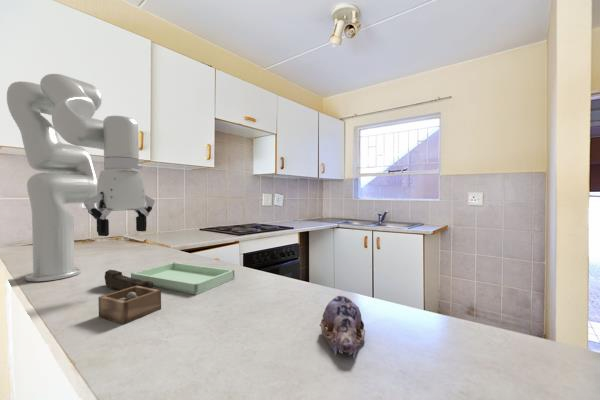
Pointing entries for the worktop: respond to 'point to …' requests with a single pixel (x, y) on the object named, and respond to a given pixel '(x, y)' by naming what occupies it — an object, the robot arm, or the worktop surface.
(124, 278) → the dark brown tapered bar
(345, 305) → the skull
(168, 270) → the tray
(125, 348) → the worktop surface
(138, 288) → the gravel box
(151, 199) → the robot arm
